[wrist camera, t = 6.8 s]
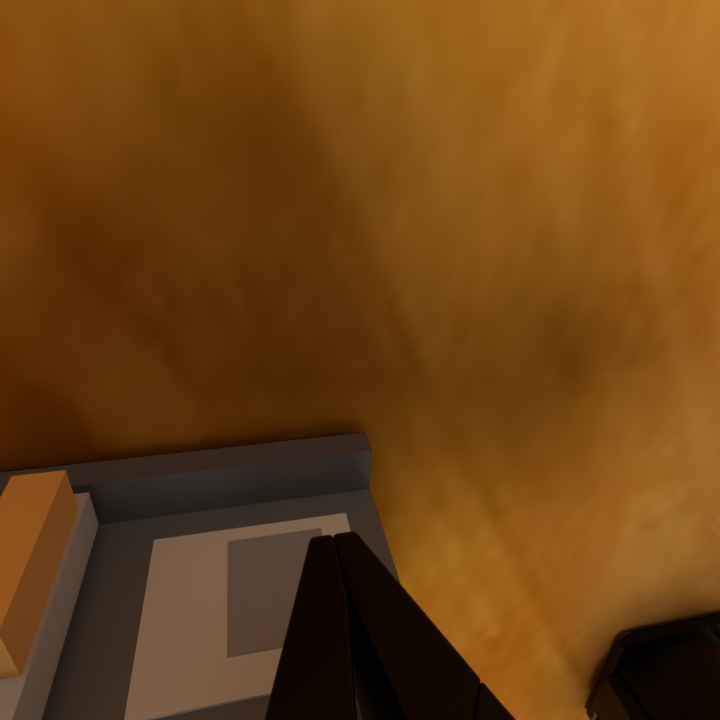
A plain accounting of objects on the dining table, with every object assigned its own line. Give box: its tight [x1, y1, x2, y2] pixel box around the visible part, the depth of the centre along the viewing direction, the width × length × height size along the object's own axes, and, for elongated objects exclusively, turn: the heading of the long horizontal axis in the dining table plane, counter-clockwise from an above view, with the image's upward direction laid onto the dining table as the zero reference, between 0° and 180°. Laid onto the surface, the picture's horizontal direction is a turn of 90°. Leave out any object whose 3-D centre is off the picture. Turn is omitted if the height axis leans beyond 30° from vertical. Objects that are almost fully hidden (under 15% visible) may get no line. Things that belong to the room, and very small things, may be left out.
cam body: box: [0, 432, 400, 720], centre depth 11 cm, size 13×8×8 cm, turn 89°
